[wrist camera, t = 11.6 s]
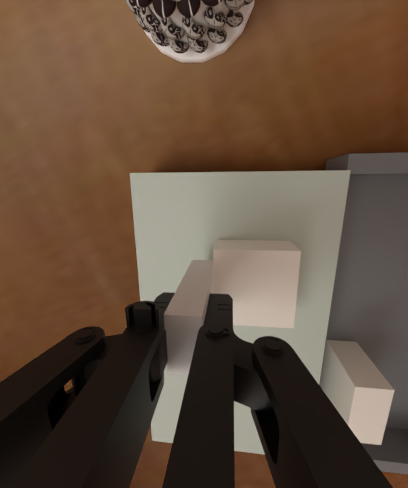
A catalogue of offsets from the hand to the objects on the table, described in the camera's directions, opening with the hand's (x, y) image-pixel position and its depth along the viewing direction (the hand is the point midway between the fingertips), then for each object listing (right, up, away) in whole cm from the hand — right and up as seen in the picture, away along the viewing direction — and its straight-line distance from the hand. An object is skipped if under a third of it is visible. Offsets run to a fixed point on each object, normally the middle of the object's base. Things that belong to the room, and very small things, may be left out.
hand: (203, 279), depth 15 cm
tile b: (+3, 0, +1) cm, 4 cm away
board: (+3, -4, +6) cm, 8 cm away
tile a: (+11, -9, +4) cm, 15 cm away
